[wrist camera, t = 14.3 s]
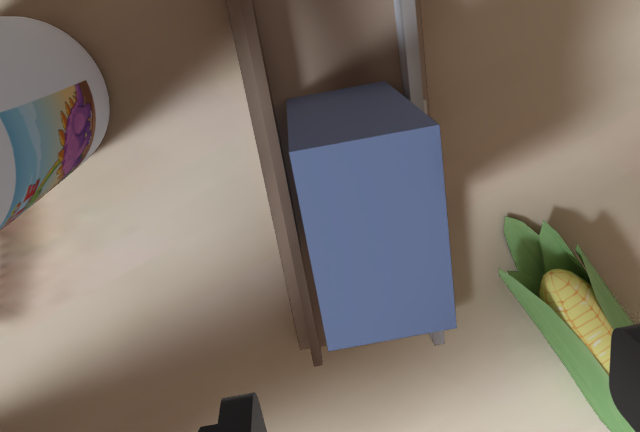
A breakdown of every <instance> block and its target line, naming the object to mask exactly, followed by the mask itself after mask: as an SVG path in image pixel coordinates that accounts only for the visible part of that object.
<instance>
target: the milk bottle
mask: <svg viewBox="0 0 640 432" xmlns="http://www.w3.org/2000/svg"><path fill="white" fill-rule="evenodd" d="M109 113H110V105H109V96H108V91H107V87H106V84H105V81H104V79H103V77H102V74H101V72H100V70H99V68H98V67H97V65H96V63H95V62H94V60H93V59H92V57H91V56H90V55H89V54H88V53H87V51H86V50H85V49H84V48H83V47H82V46H81V45H80V44H79V43H78V42H77V41H76V40H74V39H73V38H72V37H70V36H69V35H68V34H66V33H65V32H63V31H62V30H60V29H58V28H56V27H54V26H52V25H50V24H48V23H45V22H43V21H39V20H36V19H32V18H27V17H19V16H0V230H2V229H3V228H4V227H6V226H7V225H8V224H9V223H11V222H12V221H13V220H14V219H16V218H17V217H18V216H19V215H21V214H22V213H23V212H24V211H26V210H27V209H28V208H29V207H31V206H32V205H33V204H34V203H36V202H37V201H38V200H39V199H40V198H42V197H43V196H44V195H45V194H46V193H48V192H49V191H50V190H51V189H52V188H54V187H55V186H56V185H57V184H59V183H60V182H61V181H62V180H63V179H65V178H66V177H67V176H68V175H69V174H70V173H72V172H73V171H74V170H75V169H76V168H78V167H79V166H80V165H81V164H82V163H83V162H84V161H86V160H87V159H88V158H89V157H90V156H91V155H92V154H93V152H94V151H95V150H96V149H97V148H98V146H99V145H100V143H101V141H102V140H103V138H104V135H105V133H106V130H107V126H108V122H109Z"/></svg>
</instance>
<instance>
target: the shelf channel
mask: <svg viewBox="0 0 640 432" xmlns="http://www.w3.org/2000/svg"><path fill="white" fill-rule="evenodd" d="M226 3H227V8H228V13H229V17H230V22H231V27H232V31H233V36H234V41H235V45H236V50H237V55H238V60H239V64H240V69H241V74H242V78H243V83H244V88H245V92H246V97H247V102H248V107H249V111H250V116H251V121H252V125H253V130H254V135H255V140H256V144H257V149H258V154H259V158H260V163H261V168H262V172H263V177H264V182H265V187H266V191H267V196H268V201H269V205H270V210H271V215H272V220H273V224H274V229H275V234H276V238H277V243H278V248H279V252H280V257H281V262H282V267H283V271H284V276H285V281H286V285H287V290H288V295H289V300H290V304H291V309H292V314H293V318H294V323H295V328H296V332H297V337H298V342H299V347H300V350H302V349H308V348H310V349H311V354H312V359H313V364H314V366H320V365H323V364H322V355H321V346H325V345H327V342H326V337H325V332H324V327H323V322H322V316H321V311H320V306H319V301H318V296H317V291H316V286H315V281H314V276H313V271H312V266H311V261H310V256H309V251H308V246H307V241H306V236H305V231H304V226H303V221H302V216H301V210H300V205H299V200H298V195H297V190H296V185H295V180H294V175H293V170H292V165H291V160H290V155H289V143H288V122H287V102H286V99H289V98H295V97H300V96H305V95H311V94H316V93H322V92H327V91H333V90H338V89H344V88H349V87H355V86H360V85H365V84H371V83H376V82H382V81H386V82H387V83H388V84H389V85H391V86H392V87H393V88H394V89H396V90H397V91H398V92H399V93H401V94H402V95H403V96H404V97H406V98H407V99H408V100H409V101H411V102H412V103H413V104H414V105H416V106H417V107H418V108H419V109H421V110H422V111H423V112H424V113H426V114H427V115H428V116H429V104H428V92H427V80H426V68H425V56H424V44H423V32H422V20H421V8H420V0H226ZM429 117H430V116H429ZM429 335H430V337H431V339H432V341H433V344H434V345H440V344H445V343H444V331H438V332H432V333H429Z"/></svg>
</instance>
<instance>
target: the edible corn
mask: <svg viewBox="0 0 640 432" xmlns="http://www.w3.org/2000/svg"><path fill="white" fill-rule="evenodd" d="M504 234H505V237H506V240H507V243H508V245H509V248H510V251H511V254H512V256H513V259H514V262H515V264H516V267H517V269H518V271H519V272H518V271H507V272H508V274H509V275H508V274H507V273H506V272H504V271H503V270H501V269H500V268H499V276H500V277H501V278H502V280H503V281H504V282H505V284H506V285H507V286H508V288H509V289H510V291H511V292H512V293H513V295H514V296H515V297H516V299H517V300H518V301H519V303H520V304H521V305H522V307H523V308H524V309H525V311H526V312H527V313H528V315H529V316H530V318H531V319H532V320H533V322H534V323H535V324H536V326H537V327H538V328H539V330H540V331H541V333H542V334H543V336H544V337H545V338H546V340H547V341H548V343H549V344H550V346H551V347H552V348H553V350H554V351H555V353H556V354H557V356H558V357H559V358H560V360H561V361H562V363H563V364H564V366H565V367H566V368H567V370H568V371H569V373H570V375H571V376H572V378H573V379H574V381H575V382H576V384H577V386H578V387H579V389H580V390H581V392H582V393H583V395H584V396H585V398H586V400H587V401H588V403H589V404H590V405H591V407H592V408H593V410H594V411H595V413H596V414H597V415H598V417H599V418H600V420H601V421H602V422H603V423H604V424H605V426H606V427H607V428H608V429H609V430H610V431H611V432H635V430H634V429H633V428H632V427H631V426H630V424H629V423H628V422H627V421H626V420H625V418H624V417H623V416H622V415H621V414H620V412H619V411H618V409H617V408H616V406H615V404H614V402H613V399H612V397H611V393H610V389H609V370H610V351H611V335H612V332H613V330H614V329H615V328H619V327H624V326H630V325H634V324H633V322H632V321H631V320H630V318H629V317H628V315H627V314H626V313H625V311H624V310H623V308H622V307H621V306H620V304H619V303H618V301H617V300H616V299H615V297H614V296H613V294H612V293H611V291H610V290H609V289H608V287H607V286H606V284H605V283H604V281H603V280H602V278H601V277H600V276H599V274H598V273H597V271H596V270H595V268H594V267H593V266H592V264H591V263H590V261H589V260H588V258H587V257H586V255H585V254H584V253H583V251H582V250H581V248H580V247H579V245H578V244H577V246H576V252H577V254H578V255H579V257H580V259H581V261H582V262H583V264H584V266H585V268H586V270H587V272H586V271H585V269H584V268H583V267H582V265H581V264H580V262H579V261H578V260H577V258H576V257H575V256H574V254H573V253H572V251H571V250H570V249H569V247H568V246H567V245H566V243H565V242H564V240H563V239H562V238H561V236H560V235H559V234H558V233H557V232H556V231H555V230H554V229H553V228H552V227H551V226H550V225H548V224H547V223H546V222H545V221H544V220H543V224H542V227H541V230H540V234H539V235H538V234H536V233H535V232H534V231H533V230H532V229H531V228H529V227H528V226H527V225H526V224H525V223H524V222H522V221H519V220H516V219H513V218H510V217H507V216H505V225H504Z"/></svg>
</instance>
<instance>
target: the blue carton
mask: <svg viewBox="0 0 640 432" xmlns="http://www.w3.org/2000/svg"><path fill="white" fill-rule="evenodd" d="M286 102H287V122H288V143H289V155H290V160H291V165H292V170H293V175H294V180H295V185H296V190H297V195H298V200H299V205H300V210H301V216H302V221H303V226H304V231H305V236H306V241H307V246H308V251H309V256H310V261H311V266H312V271H313V276H314V281H315V286H316V291H317V296H318V301H319V306H320V311H321V316H322V322H323V327H324V332H325V337H326V342H327V347H328V351H333V350H339V349H344V348H350V347H355V346H361V345H366V344H372V343H377V342H383V341H388V340H394V339H399V338H405V337H410V336H416V335H421V334H427V333H432V332H438V331H443V330H448V329H454V328H457V325H456V314H455V302H454V290H453V278H452V266H451V254H450V243H449V231H448V219H447V207H446V195H445V183H444V172H443V160H442V148H441V136H440V125H439V124H438V123H437V122H435V121H434V120H433V119H432V118H431V117H429V116H428V115H427V114H426V113H424V112H423V111H422V110H421V109H419V108H418V107H417V106H416V105H414V104H413V103H412V102H411V101H409V100H408V99H407V98H406V97H404V96H403V95H402V94H401V93H399V92H398V91H397V90H396V89H394V88H393V87H392V86H391V85H389V84H388V83H387V82H386V81H382V82H376V83H371V84H365V85H360V86H355V87H349V88H344V89H338V90H333V91H327V92H322V93H316V94H311V95H305V96H300V97H295V98H289V99H286Z"/></svg>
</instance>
